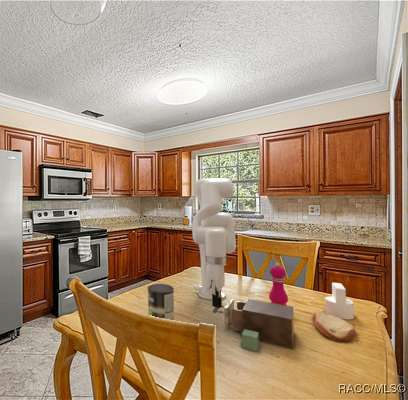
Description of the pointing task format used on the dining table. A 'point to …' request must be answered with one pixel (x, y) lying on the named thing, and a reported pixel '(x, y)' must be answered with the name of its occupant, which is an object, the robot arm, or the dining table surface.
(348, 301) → the white stepped tower
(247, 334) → the block
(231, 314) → the drawer
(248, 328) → the cabinet
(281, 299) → the pepper mill
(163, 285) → the coffee can
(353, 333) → the slice of bread
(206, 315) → the dining table surface
